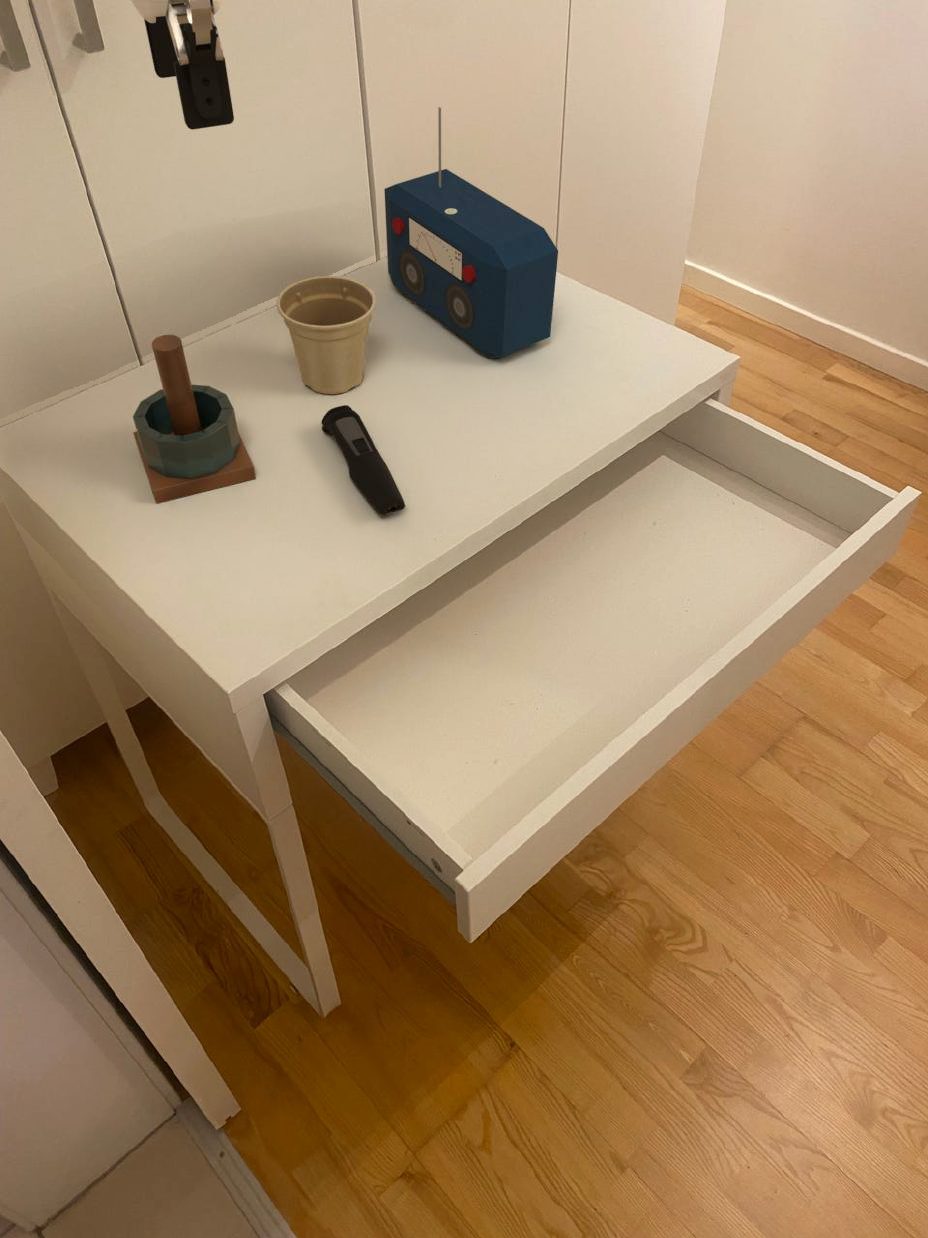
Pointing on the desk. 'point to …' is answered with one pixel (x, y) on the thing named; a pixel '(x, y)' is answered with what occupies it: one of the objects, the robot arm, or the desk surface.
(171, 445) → the ring
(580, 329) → the desk surface
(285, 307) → the flower pot
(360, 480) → the electric trimmer
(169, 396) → the stand
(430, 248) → the radio
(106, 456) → the desk surface
